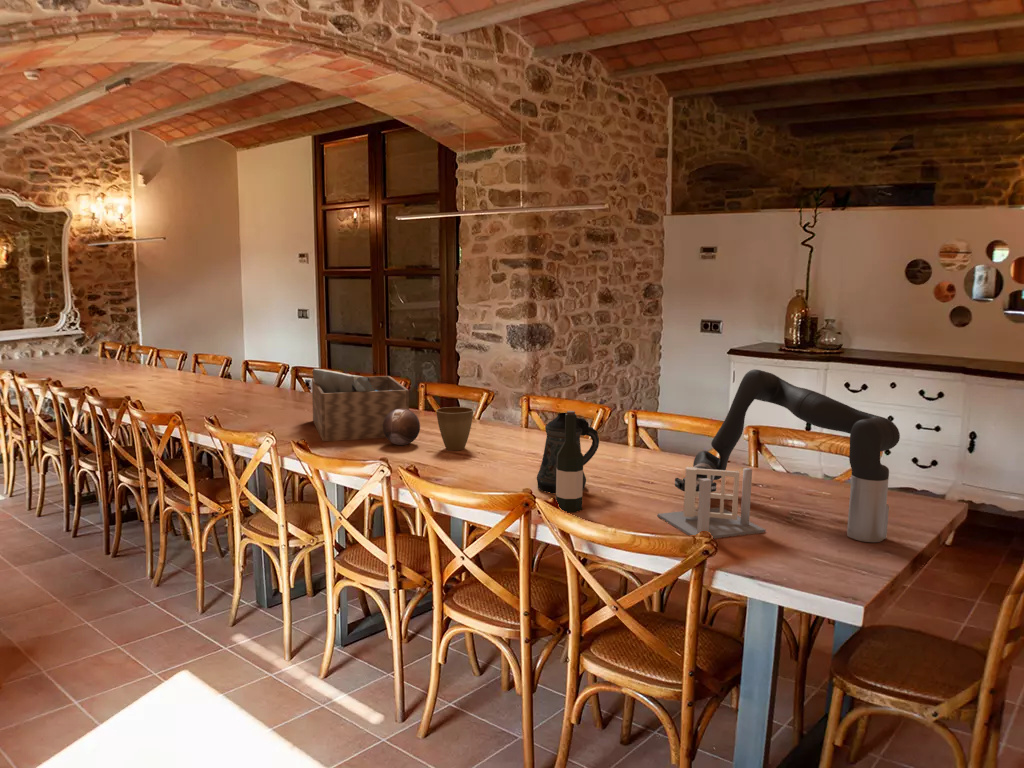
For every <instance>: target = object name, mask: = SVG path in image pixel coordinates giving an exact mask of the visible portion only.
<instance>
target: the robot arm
mask: <svg viewBox="0 0 1024 768" xmlns="http://www.w3.org/2000/svg"><path fill="white" fill-rule="evenodd" d="M734 395H735V396H734V398H733V401H732V402H731V405H730V407H729V410H728V412H727V415H726V417H725V419H724V421H723V422H722V424H721V426H720V428H719V429H718V431H717V432H716V434H715V435H714V436H713V439H712V441H711V443H710V444H711V447H712V448H713V450H714V451H715V452H717V454H718V455H719V457H718V456H716V455H715V454H713V453H711V452H709V451H708V450H700V451H699V452H698V453H697V454H696V455H695V457H694V459H693V464H692V467H697V468H700V469H713V470H726V471H727V466H728V461H729V459H730V456H731V454H732V452H733V450H734V448H735V447H736V445H737V444H738V442H739V441H740V439H741V437H742V435H743V433H744V428H745V418H746V416H747V415H746V414H747V411H748V410H749V408H750V406H751V404H752V403H753V402H755V400H756V401H760V402H764V403H765V402H766V403H770V404H774V405H778V406H780V407H783V408H785V409H787V410H788V411H789V412H790V413H791V414H792V415H793V416H795V417H796V418H798V419H799V420H801V421H804V422H805V423H808V424H810V425H812V426H814V427H817V428H818V427H819V428H821V429H825V430H831V431H836V432H841V433H847V434H849V460H848V461H849V465H850V468H851V476H850V487H849V488H850V489H849V490H850V491H849V504H848V515H847V518H848V519H847V529H846V535H847V537H849V538H850V539H852V540H855V541H859V542H865V543H880V542H882V541H883V540H885V539H887V534H888V524H889V511H890V505H889V504H888V503H887V500H888V499H887V498H888V490H889V489H888V488H889V479H890V469H889V467H888V466H886V465H885V464H882V462H881V452H886V451H888V450H891V449H893V448H894V447H896V446H897V444H898V443H899V441H900V439H901V435H900V430H899V428H898V426H897V425H896V424H895V423H894V422H893V421H892V420H890V419H888V418H887V417H883V416H879V415H877V414H876V415H875V414H872V413H869V412H865V411H862V410H859V409H856V408H854V407H852V406H851V405H848V404H846V403H845V404H844V403H843V402H841V401H839V400H836V399H833V398H831V397H829V396H827V395H825V394H822V393H820V392H818V391H814V390H812V389H808V388H804V387H799V386H796V385H794V384H792V383H790V382H788V381H786V380H784V379H782V378H780V377H779V376H777V375H775V374H774V373H771V372H768V371H764V370H761V369H750V370H749V371H747V372H746V373H745V374H744V376H743V377H742V379H741V381H740V383H739V386H738V388H737V391H736V393H735V394H734ZM704 478H707V475H702V474H696V492H699V483H700V479H704ZM721 478H722V476H715V475H711V493H716V491H717V482H715V481H718V480H720V479H721ZM674 487H676V488H678V490H680V491H682V492H685V477H683V478H679V477H675V478H674Z"/></svg>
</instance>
